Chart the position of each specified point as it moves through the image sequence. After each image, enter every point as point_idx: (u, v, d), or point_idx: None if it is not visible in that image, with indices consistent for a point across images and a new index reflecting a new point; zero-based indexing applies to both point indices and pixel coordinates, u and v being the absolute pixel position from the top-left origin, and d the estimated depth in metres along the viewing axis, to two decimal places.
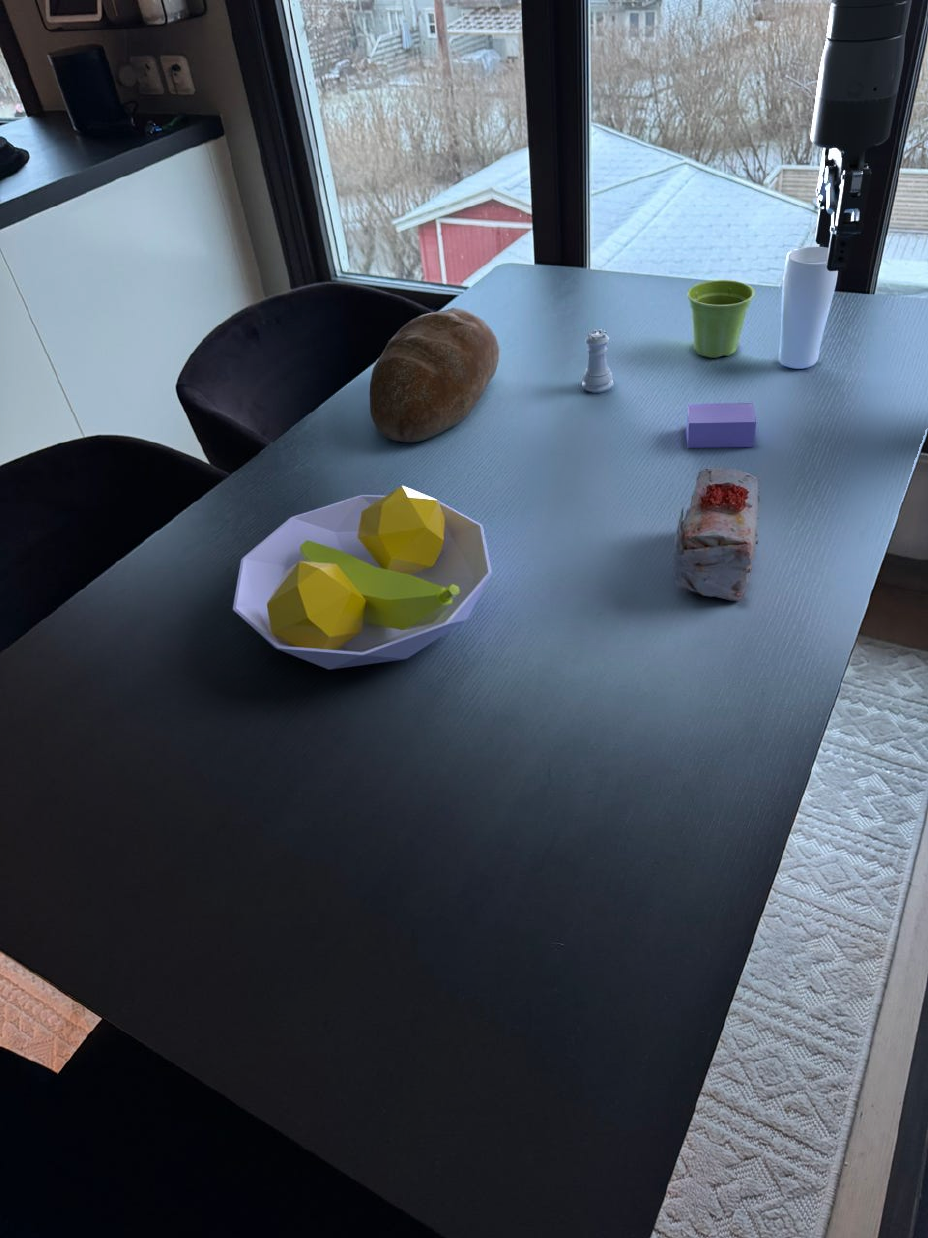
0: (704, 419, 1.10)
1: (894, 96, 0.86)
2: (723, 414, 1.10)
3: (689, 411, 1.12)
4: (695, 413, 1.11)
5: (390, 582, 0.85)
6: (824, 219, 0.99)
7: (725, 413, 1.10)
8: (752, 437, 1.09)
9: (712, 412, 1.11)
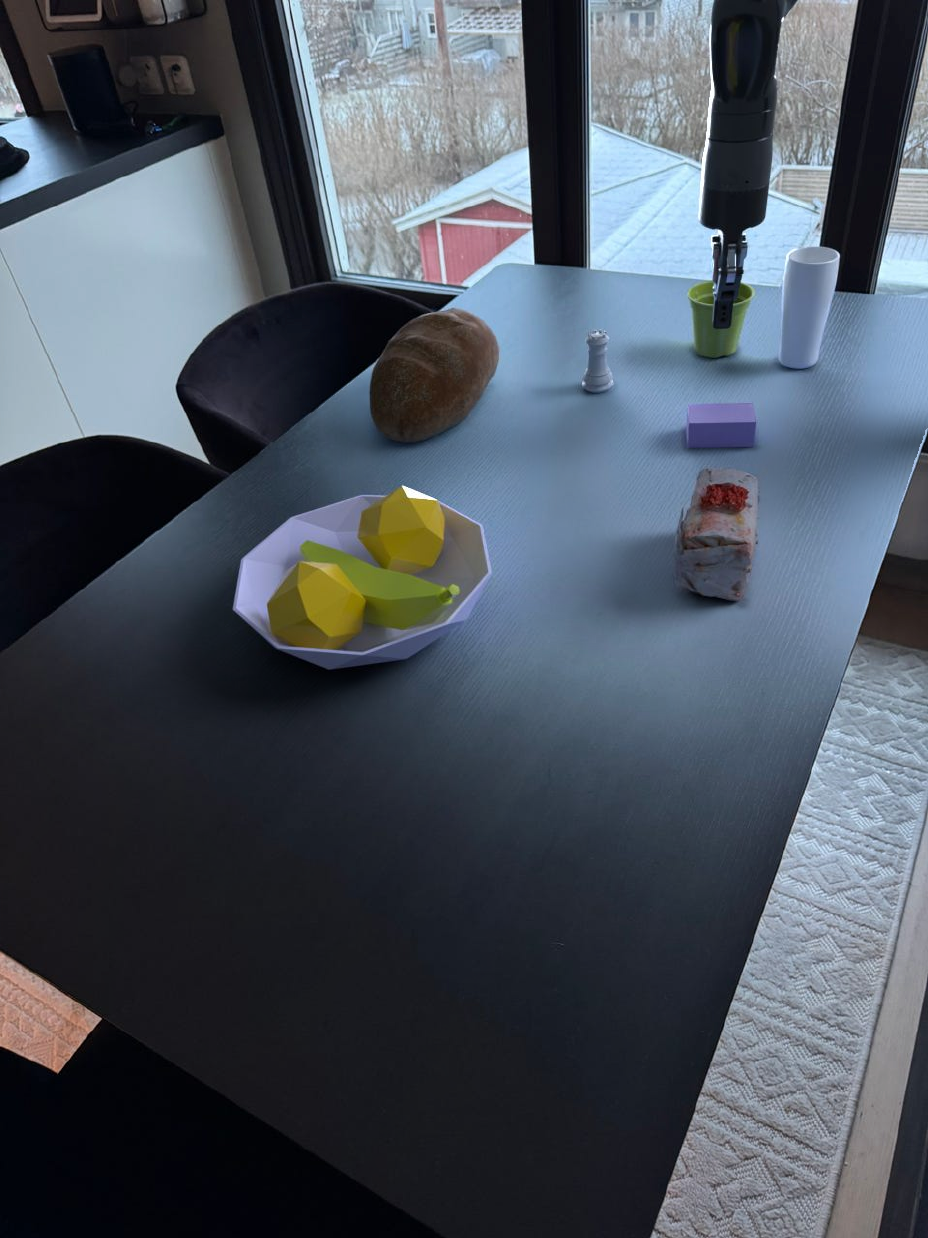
0: (704, 419, 1.10)
1: (765, 187, 0.98)
2: (723, 414, 1.10)
3: (689, 411, 1.12)
4: (695, 413, 1.11)
5: (390, 582, 0.85)
6: None
7: (725, 413, 1.10)
8: (752, 437, 1.09)
9: (712, 412, 1.11)
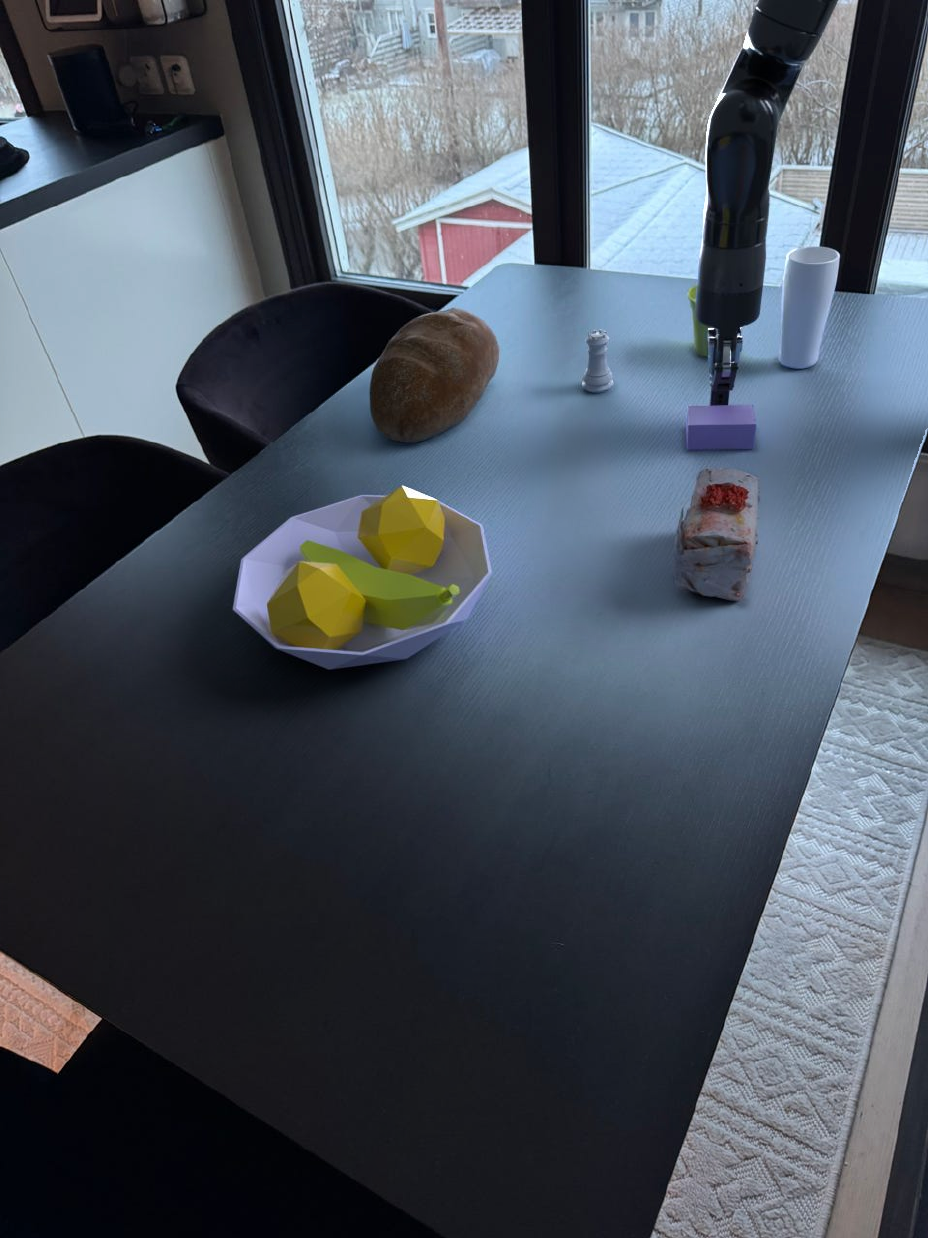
0: (704, 421, 1.09)
1: (759, 288, 1.02)
2: (723, 416, 1.10)
3: (689, 413, 1.11)
4: (694, 415, 1.11)
5: (390, 582, 0.85)
6: None
7: (724, 415, 1.10)
8: (752, 439, 1.09)
9: (712, 414, 1.10)
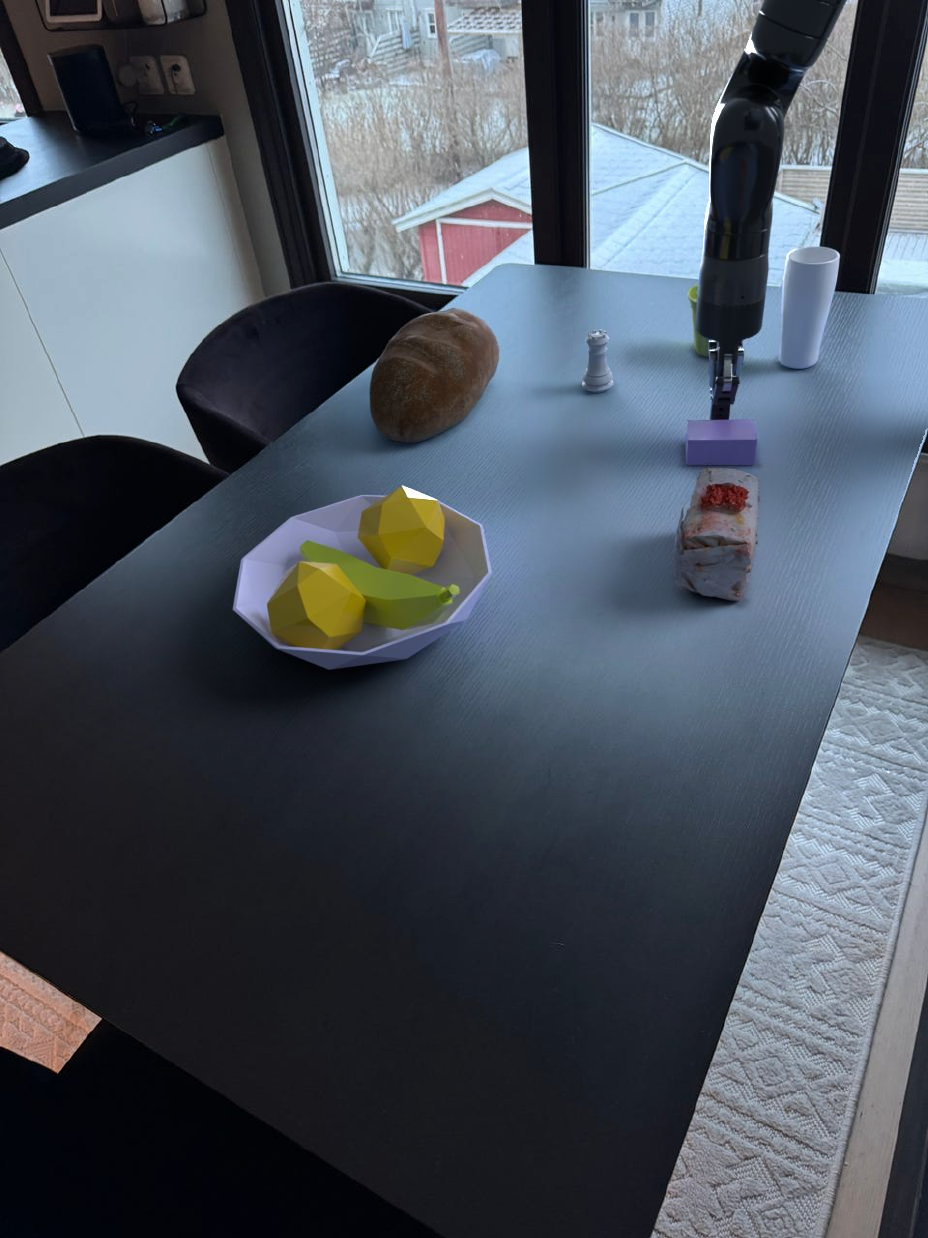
0: (704, 436, 1.07)
1: (761, 300, 0.99)
2: (723, 431, 1.07)
3: (688, 427, 1.08)
4: (694, 430, 1.08)
5: (390, 582, 0.85)
6: None
7: (725, 430, 1.07)
8: (753, 455, 1.06)
9: (712, 429, 1.08)
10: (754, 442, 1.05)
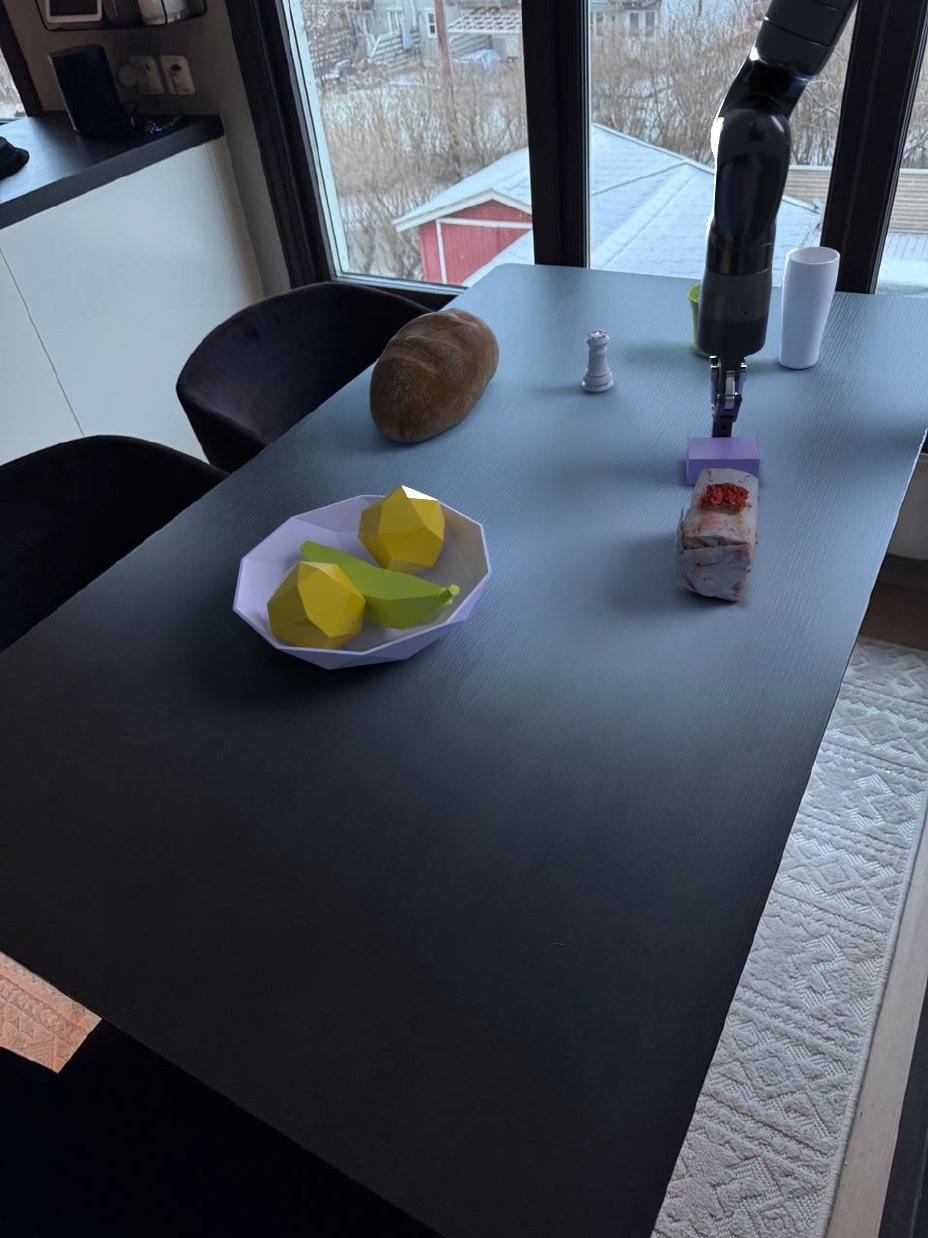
0: (705, 454, 1.03)
1: (765, 316, 0.96)
2: (725, 449, 1.04)
3: (689, 446, 1.05)
4: (695, 448, 1.05)
5: (390, 582, 0.85)
6: None
7: (727, 448, 1.04)
8: (756, 474, 1.03)
9: (714, 447, 1.04)
10: (757, 461, 1.02)
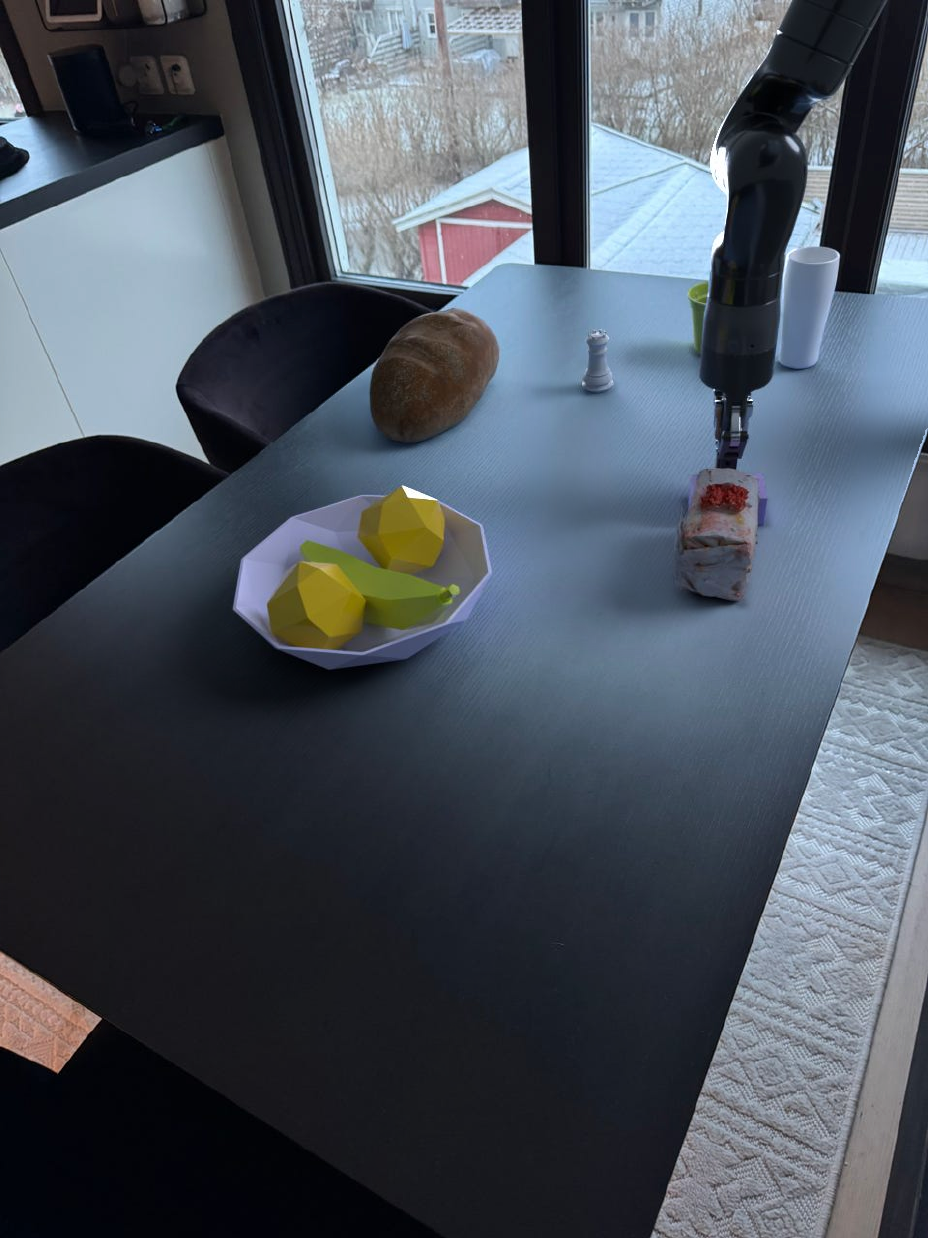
0: None
1: (772, 348, 0.89)
2: None
3: (692, 483, 0.99)
4: None
5: (390, 582, 0.85)
6: None
7: None
8: (762, 514, 0.97)
9: None
10: (764, 501, 0.96)
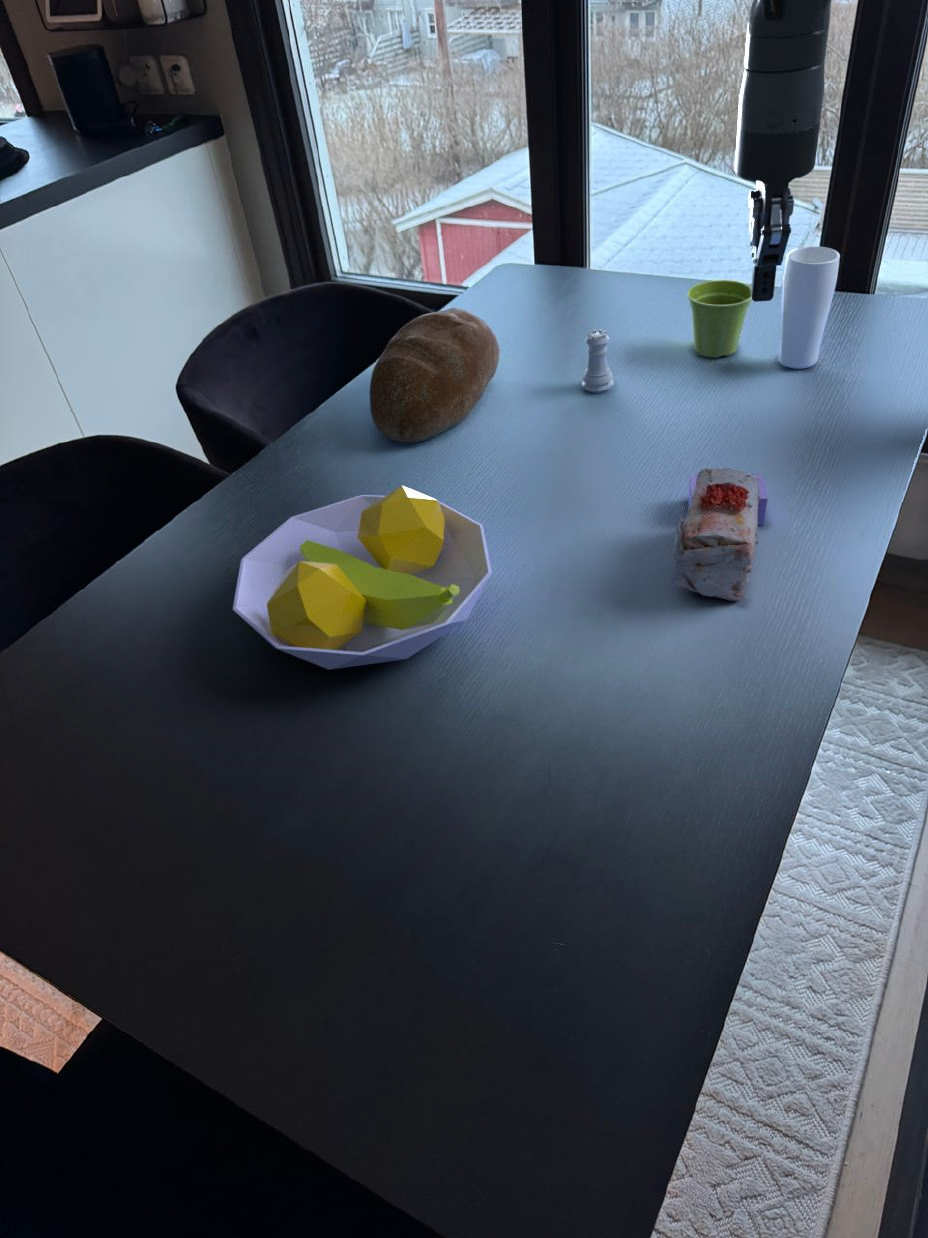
0: None
1: (816, 127, 0.82)
2: None
3: (692, 483, 0.99)
4: None
5: (390, 582, 0.85)
6: None
7: None
8: (763, 515, 0.97)
9: None
10: (764, 501, 0.96)
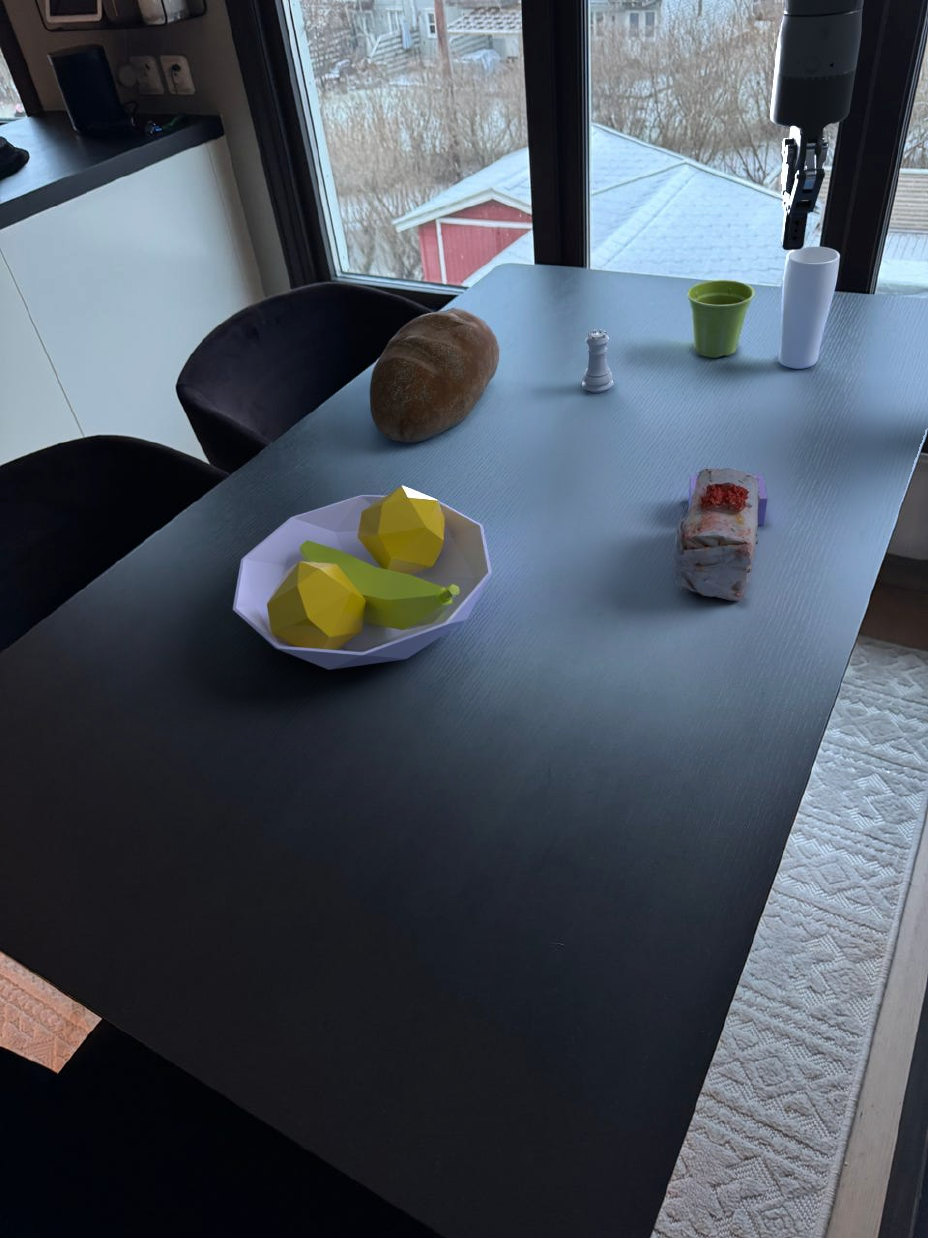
0: None
1: (852, 72, 0.85)
2: None
3: (692, 483, 0.99)
4: None
5: (390, 582, 0.85)
6: None
7: None
8: (763, 515, 0.97)
9: None
10: (764, 501, 0.96)
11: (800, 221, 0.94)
